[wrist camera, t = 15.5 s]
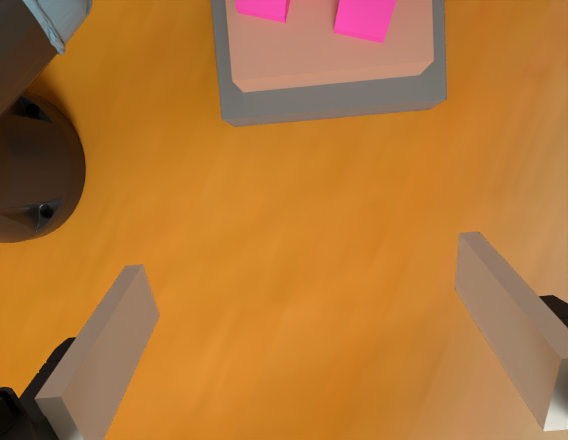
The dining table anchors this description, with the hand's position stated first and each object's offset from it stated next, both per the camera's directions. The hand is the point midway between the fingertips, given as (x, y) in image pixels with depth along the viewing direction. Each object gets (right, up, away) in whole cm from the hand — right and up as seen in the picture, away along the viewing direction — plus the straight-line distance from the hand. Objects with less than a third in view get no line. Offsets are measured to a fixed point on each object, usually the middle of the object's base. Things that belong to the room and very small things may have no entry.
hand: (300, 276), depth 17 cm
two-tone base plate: (+3, +22, +19) cm, 29 cm away
